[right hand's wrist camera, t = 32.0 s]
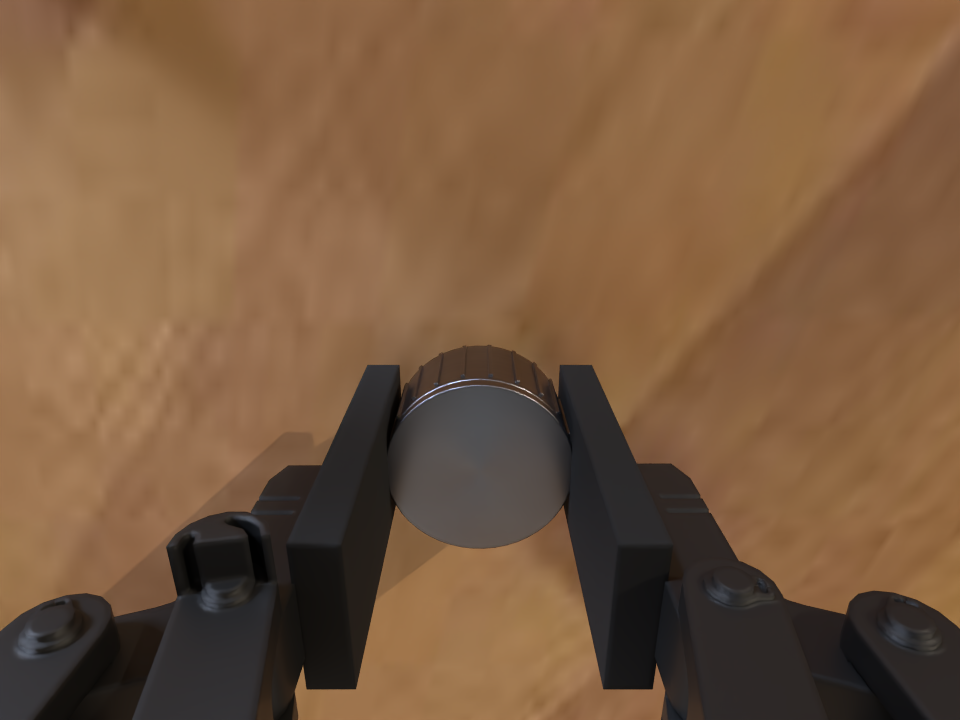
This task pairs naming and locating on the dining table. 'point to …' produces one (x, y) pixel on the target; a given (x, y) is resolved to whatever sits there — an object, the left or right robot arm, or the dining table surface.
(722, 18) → the dining table surface
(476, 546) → the cap
